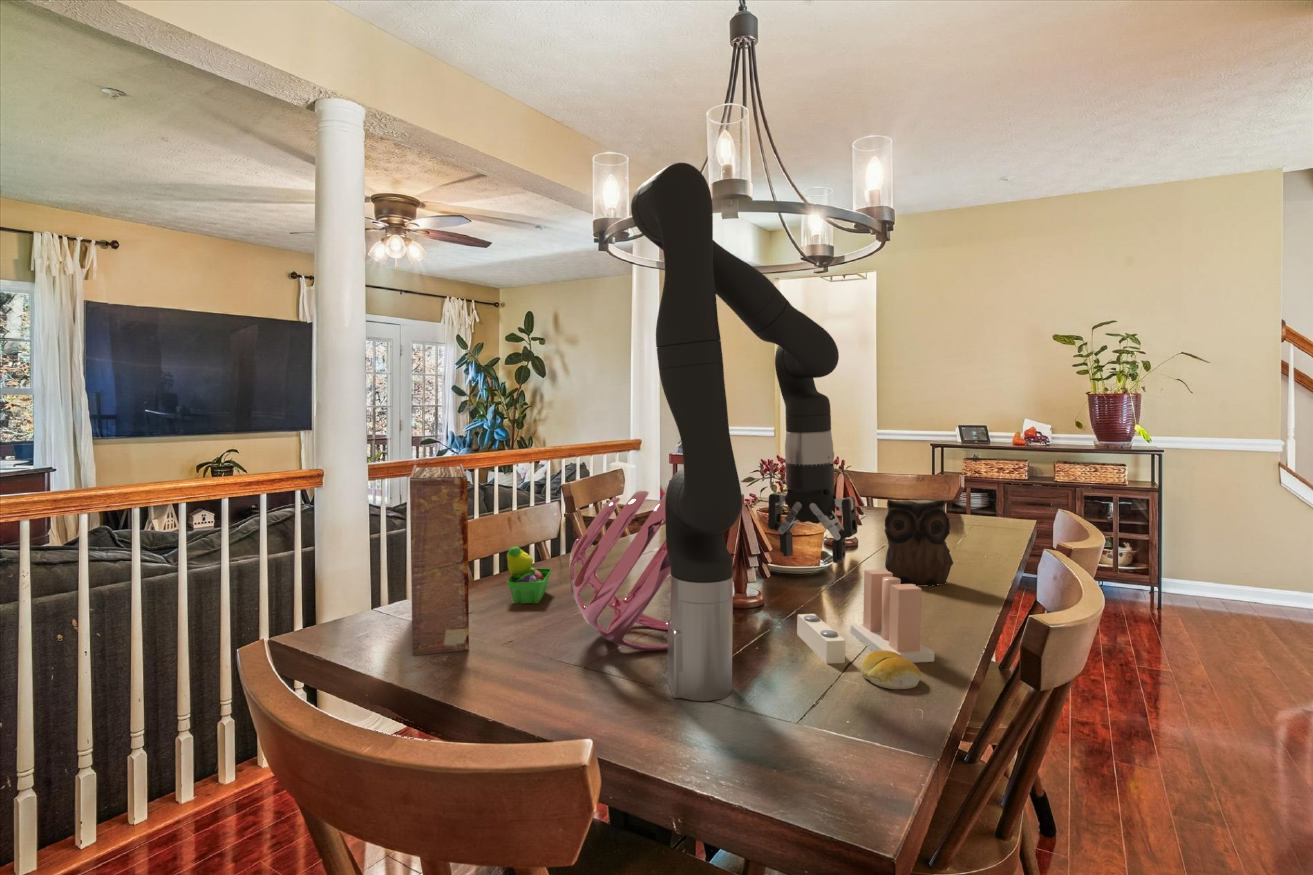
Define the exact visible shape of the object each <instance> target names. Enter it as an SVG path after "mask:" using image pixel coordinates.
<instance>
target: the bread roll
mask: <svg viewBox="0 0 1313 875" xmlns="http://www.w3.org/2000/svg"><path fill="white" fill-rule="evenodd" d="M860 671H861V675H862V677H863V678H864V679H866V680H868V681H870V682H871V684H873V685H875V686H877V687H880V688H885V689H891V690H907V689H913V688H915V687H917V686H918V684H919V682H920V680H921V677H922V673H921V671H920V668H919V667H918V666H917V665H916V663H912V662H911V661H910V660H908V659H906V658H903V657H902V656H900V655H899V654H898V653H895V652H892V651H887V650H883V651H875V652H873V651H871V652H870V653H868V654H866V655H865V657H864V658H863V660H862V661H861V665H860Z"/></svg>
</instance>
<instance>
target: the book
mask: <svg viewBox="0 0 1313 875" xmlns="http://www.w3.org/2000/svg"><path fill="white" fill-rule="evenodd" d="M468 484H469V483H468V478H467V474H466V471H465V468H464V466H463V463H459V466H435V467H433V466H432V467H431V466H430V467H418V465H417V464H413V467H412V471H411V473H410V477H409V509H410V510H409V511H410V512H409V513H410V514H409V515H410V516H409V520H410V524H409V525H410V526H409V528H410V572H411V573H410V574H411V581H410V583H411V629H412V630H411V631H412V632H411V636H412V639H411V641H412V643H411V644H412V656H423V655H430V654H431V655H432V654H441V653H453V652H458V651H459V652H461V651H469V650H470V628H469V627H470V626H469V623H470V618H469V617H470V616H469V614H470V613H469V606H470V605H469V600H470V599H469V527H468V526H469V519H468V518H469V517H468V516H469V511H468V510H469V508H468V507H469V506H468V505H469V504H468V503H469V501H468V498H469V497H468V494H469V492H468V489H469V488H468Z"/></svg>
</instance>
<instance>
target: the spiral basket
mask: <svg viewBox="0 0 1313 875" xmlns="http://www.w3.org/2000/svg"><path fill="white" fill-rule="evenodd" d="M649 494H650V492H649V491H647V490H639V491H636V492H634V493H633V494H632V496H631V497H630V498H629V499H628V501H627V502H626V503H625V505H624V506H623V507H622V509H621V510H620V511H619V512H618V514H617V516H616V517H615V518H614V520H613V521H612V522H611V523H610V525H609V527H608V528H607V530H606V531H605V532H604V534H603V535H602V536H601V538H600V539H599V541H598V543H596V545H595V547H594V548H593V549H592V551H591V553H590V554H589V556H588V557H587V551H588V549H589V547H590V546H591V544H593V542H594V541H595V539H596V538H597V536H598V535H599V534H600V532H601V530H602V529H603V528H604V526H605V525H606V524H607V522H608V520H609V519H610V517H611V516H612V515H613V513H614V511H615V509H616V508H617V507H618V505H619V504H620V501H621V497H614V498H612V499H610V500H609V501H607V503H605V504H604V506H603V507H602V508H601V510H600V511H599V512H598V513H597V515H596V516H595V517H594V518H593V520H592V522H591V523H590V524H589V526H588V527H587V528H586V530H585V532H584V533H583V534H580V535H579V538H576V539H575V541H574V542H573V544H572V548H571V551H570V556H569V566H568V567H569V568H568V569H569V570H568V571H569V583H570V584H569V585H570V591H571V595H572V596H573V599H574V601H575V603H576V605H577V607H578V609H579V611H580V613H581V614H582V618H583V619H584V620H585V622H586V623H587V624H588V625H590V626H591V627H592V628H593V629H594V630H596V631H597V632H598V633H599V634H600V635H601V636H602V637H603V638H604V639H606V640H607V641H608V642H610V643H613V644H616V645H618V646H622V647H624V648H628V649H631V650H635V651H636V650H637V651H640V652H641V651H642V652H656V651H657V652H658V651H665V650H668V642H667V643H662V644H639V643H635V642H631V641H628V640H626V639H624V638H625V636H626V635H627V633H628V632H630V630H631V629H632V627H633V626H634V625H635V623H636V624H638V625H641V626H645V627H647V628H652V629H657V630H663V631H668V621H665V620H662V619H657V618H654V617H652V616H649V615H646V614H645V613H643V612H644V611H645V610H646V608H647V607H648V606H649V605H650V602H652V600H653V599H654V597H655V596H656V594H657V593H658V591H659V590H660V589H661V587H662V585H663V584H664V583H665V581H666V579H667V578H668V577H669V575H671V566H670V560H669V557H668V553H667V547H666V539H665V540H664V541H663V543H662V544H661V546H660V547H659V548H658V550H657V551H656V552H655V554H654V556H653V557H652V559H651V560H650V562H649V563H648V565H646V567H645V569H644V570H643V572H642V573H641V574H640V576H639V578H638V579H637V581H636V582H635V583H634V585H633V587H632V588H631V589H630V591H629V592H628V594H627V596H626V597H625V598H623V599H621V598H619V597H617V595H616V593H617V592H618V590H619V589H620V587H621V586H622V584H623V583H624V582H625V580H626V578H627V577H628V576H629V574H630V573H631V571H632V570H633V568H634V567H635V566H636V565H637V562H638V561H639V560H640V558H641V557H642V555H643V554H644V552H645V550H646V549H647V548H648V546H649V545H650V544H651V542H652V540H653V539H654V537H655V536H656V534H657V532H658V531H659V530H660V528H661V527H662V525H663V524H664V523H665V499H666V493H664V494H663V496H662V497H661V499H660V500H659V502H658V503H657V504H656V506H655V508H653V510H652V512H651V513H650V514H649V516H648V518H647V519H646V520H645V522H644V523H643V525H642V526H641V528H640V529H639V531H638V532H637V534H636V535H635V536H634V538H633V539H632V540H631V542H630V544H629V545H628V547H627V548H626V550H625V551H624V553H623V554H622V555H621V556H620V558H619V560H618V561H617V562H616V564H615V566H614V567H613V569H612V570H611V572H609V574H608V576H607V577H606V579H604V580H602V581H601V580H600V578H599V577H598V574H597V572H598V569H599V568H600V567H601V566H602V564H603V562H604V561H605V559H606V558H607V556H608V555H609V554H610V552H612V549H613V548H614V546H615V545H616V544H617V542H618V540H619V539H620V538H621V537H622V535H623V533H624V532H625V531H626V529H627V528H628V526H629V525H630V524H631V522H632V520H633V518H634V517H636V516H635V515H636V514H637V513H638V511H639V510H640V509H641V507H642V505H643V504H644V502H645V501H646V499H647V497H648V496H649ZM578 562H579V563H580V569H579V571H578V572H577V574H576V565H577V563H578ZM587 585H590V587H591V588H592V591H593V592H594V594H593V597H592V599H591V600H590V601H589V603H588V605H587V606H586V604H585V603H584V601H583V599H582V596H581V593H582V592H583V590H584V589H585V587H586V586H587ZM606 607H609V608H610V609H612V610H613V612H614V616H613V618H612V620H611V622H610V623H609V625H608V626H607V628H605V627H604V626H603V625H601V624H600V623H599V621H598V618H599V617H600V615H601V614H602V613H603V612H604V610H605V608H606Z"/></svg>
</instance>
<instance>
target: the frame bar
mask: <svg viewBox="0 0 1313 875" xmlns="http://www.w3.org/2000/svg"><path fill="white" fill-rule="evenodd" d="M796 617H797V618H796V619H797V620H796V622H797V623H796V624H797V626H796V632H797V633H796V634H797V636H798V637H799V638H800V639H801V640H802V642H804V643H805V644H806V645H807V646H808V647H809V648H810V649H811V650H812V651H813V652H814V653H815V655H816V656H818V657H819V658H820V659H821V660H822V662H824V663H825V664H826V665H827V664H844V663H846V640H845V639H844V638H843V637H842V636H841V635H839V633H838V631H835V630H834V629H833V628H832V627H830V626H829V625H828V624H827V623H826V622H824V621H823V619H821V618H820V617H819V616H818V615H817V614H816V613H803V614H802V613H800V614H797V616H796Z"/></svg>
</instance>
